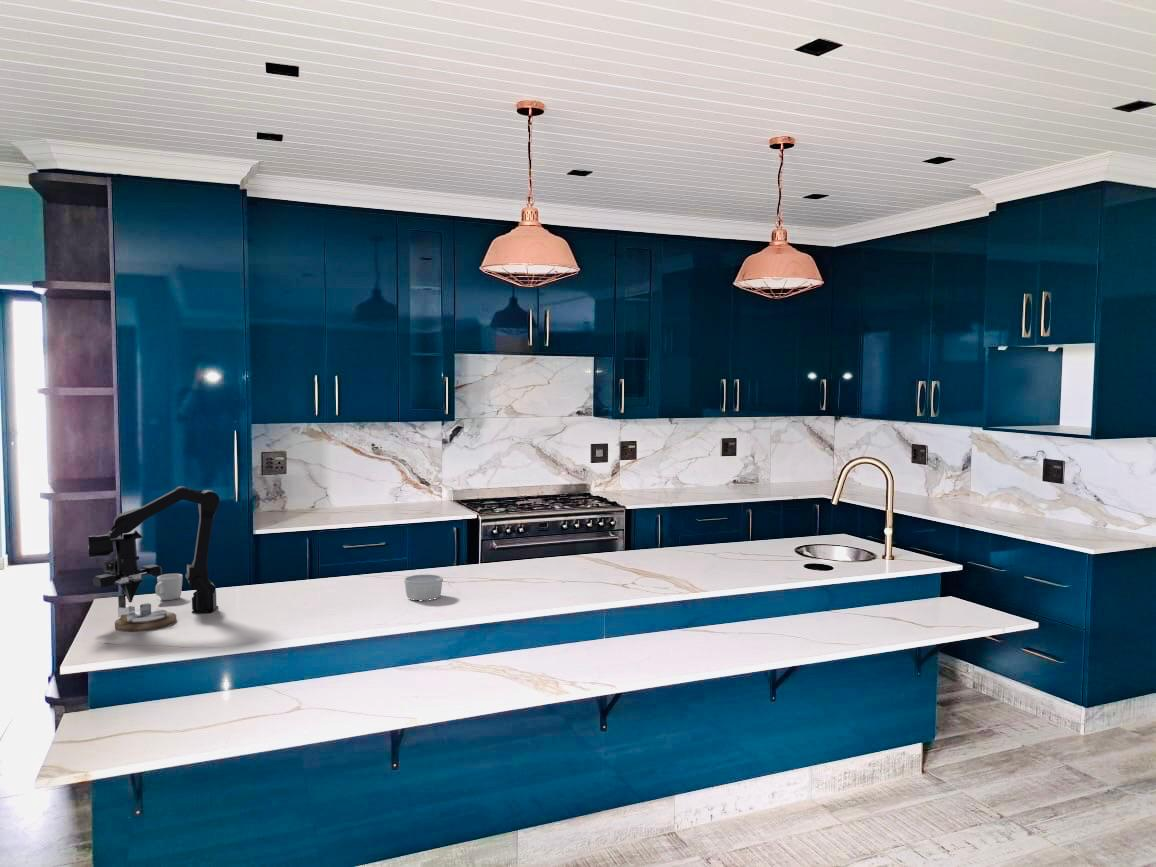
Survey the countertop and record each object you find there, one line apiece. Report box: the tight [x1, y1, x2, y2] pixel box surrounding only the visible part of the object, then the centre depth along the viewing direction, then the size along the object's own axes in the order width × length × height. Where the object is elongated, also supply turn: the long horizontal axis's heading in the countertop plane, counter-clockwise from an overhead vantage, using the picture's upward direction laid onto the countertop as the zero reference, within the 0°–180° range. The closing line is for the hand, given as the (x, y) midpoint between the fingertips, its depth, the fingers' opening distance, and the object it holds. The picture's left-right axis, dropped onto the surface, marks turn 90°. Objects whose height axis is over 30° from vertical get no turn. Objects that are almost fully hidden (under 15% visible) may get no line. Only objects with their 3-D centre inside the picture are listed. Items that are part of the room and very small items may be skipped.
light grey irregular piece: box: [117, 593, 168, 623], centre depth 261 cm, size 16×12×7 cm
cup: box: [154, 573, 184, 601], centre depth 290 cm, size 11×8×8 cm
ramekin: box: [403, 573, 444, 600], centre depth 292 cm, size 13×13×7 cm
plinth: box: [114, 611, 177, 633], centre depth 261 cm, size 17×17×4 cm
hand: (130, 602), depth 265 cm, fingers closed
